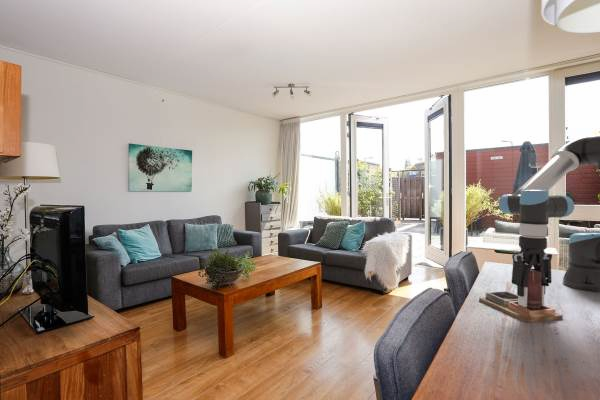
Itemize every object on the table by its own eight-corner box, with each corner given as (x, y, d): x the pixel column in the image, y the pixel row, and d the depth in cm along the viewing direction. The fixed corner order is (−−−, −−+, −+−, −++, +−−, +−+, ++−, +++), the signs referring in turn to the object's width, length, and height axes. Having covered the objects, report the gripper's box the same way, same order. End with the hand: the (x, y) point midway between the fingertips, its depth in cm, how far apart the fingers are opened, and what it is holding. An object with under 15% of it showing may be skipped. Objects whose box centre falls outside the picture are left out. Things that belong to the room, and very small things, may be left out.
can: (523, 313, 106) (525, 271, 105) (515, 306, 112) (516, 266, 111) (544, 315, 104) (546, 272, 104) (534, 307, 111) (535, 267, 110)
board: (510, 298, 124) (510, 290, 124) (562, 319, 104) (562, 309, 104) (479, 300, 121) (479, 292, 121) (526, 322, 101) (526, 312, 101)
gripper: (545, 233, 112) (543, 299, 113) (499, 235, 108) (497, 303, 109) (567, 237, 105) (565, 306, 106) (518, 239, 101) (516, 311, 102)
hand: (530, 304), depth 108 cm, fingers closed on board, 6 cm apart
